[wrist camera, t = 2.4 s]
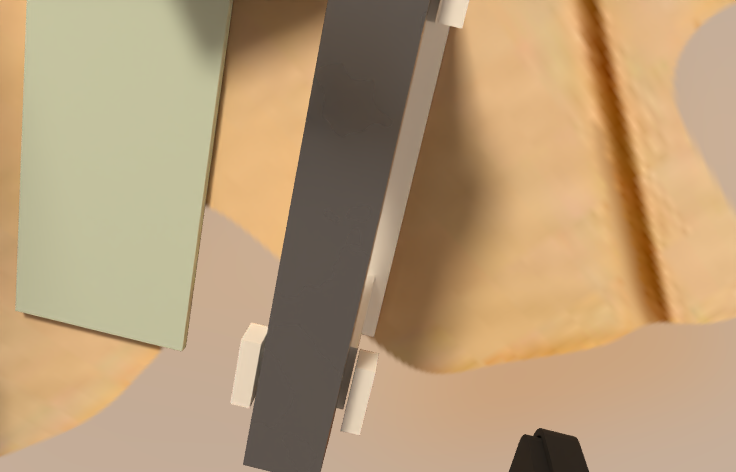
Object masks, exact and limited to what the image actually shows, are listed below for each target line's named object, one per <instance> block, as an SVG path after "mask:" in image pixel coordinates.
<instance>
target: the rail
mask: <svg viewBox="0 0 736 472" xmlns="http://www.w3.org/2000/svg"><path fill="white" fill-rule="evenodd" d="M430 3H431V0H328V3H327V8H326V13H325V19H324V24H323V30H322V35H321V41H320V46H319V52H318V57H317V63H316V68H315V74H314V79H313V85H312V90H311V96H310V101H309V107H308V112H307V117H306V123H305V128H304V134H303V139H302V145H301V150H300V156H299V161H298V167H297V172H296V178H295V183H294V189H293V194H292V200H291V205H290V210H289V216H288V221H287V227H286V232H285V238H284V243H283V249H282V254H281V260H280V265H279V271H278V276H277V282H276V287H275V293H274V299H273V304H272V309H271V314H270V320H269V325H268V331H267V336H266V342H265V347H264V353H263V358H262V364H261V369H260V375H259V380H258V386H257V391H256V397H255V403H254V408H253V413H252V419H251V424H250V429H249V435H248V440H247V446H246V451H245V457H244V463H243V465H247V466H250V467H254V468H258V469H263V470H266V471H270V472H321V468H322V464H323V460H324V456H325V452H326V448H327V445H328V441H329V437H330V433H331V428H332V424H333V420H334V416H335V411H336V407H337V403H338V398H339V394H340V390H341V386H342V381H343V377H344V373H345V368H346V364H347V360H348V355H349V351H350V347H351V343H352V338H353V334H354V330H355V325H356V321H357V317H358V313H359V308H360V304H361V300H362V295H363V291H364V287H365V282H366V278H367V274H368V270H369V265H370V261H371V257H372V252H373V248H374V244H375V240H376V235H377V231H378V227H379V222H380V218H381V214H382V209H383V205H384V201H385V197H386V192H387V188H388V184H389V179H390V175H391V171H392V166H393V162H394V158H395V154H396V149H397V145H398V141H399V136H400V132H401V128H402V124H403V119H404V115H405V111H406V106H407V102H408V98H409V93H410V89H411V85H412V81H413V76H414V72H415V68H416V63H417V59H418V55H419V51H420V46H421V42H422V38H423V33H424V29H425V25H426V20H427V16H428V12H429V8H430Z"/></svg>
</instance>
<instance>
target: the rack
mask: <svg viewBox="0 0 736 472" xmlns="http://www.w3.org/2000/svg"><path fill="white" fill-rule="evenodd" d="M468 3H469V0H431V3H430V8H429V12H428V16H427V20H426V25H425V29H424V33H423V38H422V42H421V46H420V51H419V55H418V59H417V63H416V68H415V72H414V76H413V81H412V85H411V89H410V93H409V98H408V102H407V106H406V111H405V115H404V119H403V124H402V128H401V132H400V136H399V141H398V145H397V149H396V154H395V158H394V162H393V166H392V171H391V175H390V179H389V184H388V188H387V192H386V197H385V201H384V205H383V209H382V214H381V218H380V222H379V227H378V231H377V235H376V240H375V244H374V248H373V252H372V257H371V261H370V265H369V270H368V274H367V278H366V282H365V287H364V291H363V295H362V300H361V304H360V308H359V313H358V317H357V321H356V325H355V330H354V334H353V338H352V343H351V347H350V351H349V355H348V360H347V364H346V368H345V373H344V377H343V381H342V386H341V390H340V394H339V398H338V403H337V407H336V408H340V409H343V408H344V404H345V400H346V395H347V392H348V387H349V383H350V379H351V375H352V371H353V367H354V363H355V358H356V354H357V350H358V346H359V341H360V337H361V334H363V335H367V336H371V337H374V335H375V331H376V326H377V322H378V318H379V314H380V310H381V306H382V302H383V298H384V294H385V290H386V286H387V282H388V277H389V273H390V269H391V265H392V261H393V257H394V253H395V249H396V245H397V241H398V237H399V233H400V229H401V224H402V220H403V216H404V212H405V208H406V204H407V200H408V196H409V192H410V188H411V184H412V180H413V175H414V171H415V167H416V163H417V159H418V155H419V151H420V147H421V143H422V139H423V135H424V131H425V126H426V122H427V118H428V114H429V110H430V106H431V102H432V98H433V94H434V90H435V86H436V82H437V78H438V73H439V69H440V65H441V61H442V57H443V53H444V49H445V45H446V41H447V37H448V33H449V29H450V26H453V27H457V28H462V27H463V23H464V19H465V15H466V11H467V7H468ZM267 331H268V327H267V326H263V325H259V324H255V323H251V324H250V326H249V328H248V329H247V331H246V332H245V334H244V336H243V337H242V339H241V344H240V349H239V355H238V362H237V367H236V373H235V379H234V385H233V391H232V397H231V403H230V404H233V405H237V406H241V407H245V408H250V406H251V404H252V402H253V400H254V398H255V396H256V391H257V386H258V380H259V375H260V369H261V364H262V358H263V353H264V347H265V342H266V336H267ZM378 356H379V354H378V353H374V352H370V351H366V350H362V349H360V351H359V356H358V360H357V364H356V368H355V372H354V377H353V381H352V385H351V389H350V393H349V398H348V402H347V406H346V410H345V414H344V418H343V423H342V427H341V431H343V432H347V433H351V434H355V435H359V436H360V433H361V429H362V425H363V421H364V417H365V413H366V409H367V405H368V401H369V397H370V393H371V389H372V385H373V381H374V377H375V373H376V368H377V362H378Z"/></svg>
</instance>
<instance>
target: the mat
mask: <svg viewBox="0 0 736 472" xmlns="http://www.w3.org/2000/svg"><path fill="white" fill-rule="evenodd" d="M232 6H233V0H27V9H26V36H25V64H24V91H23V118H22V145H21V173H20V200H19V227H18V254H17V282H16V309H15V311H19V312H23V313H27V314H31V315H35V316H39V317H43V318H47V319H51V320H56V321H60V322H64V323H68V324H72V325H76V326H80V327H84V328H88V329H92V330H96V331H100V332H105V333H109V334H113V335H117V336H121V337H125V338H129V339H133V340H137V341H141V342H145V343H150V344H154V345H158V346H162V347H166V348H170V349H174V350H179V351H183V350H184V348H185V347H186V342H187V335H188V327H189V319H190V312H191V305H192V298H193V290H194V283H195V276H196V269H197V261H198V254H199V247H200V239H201V232H202V225H203V217H204V210H205V203H206V196H207V188H208V181H209V174H210V166H211V159H212V152H213V145H214V137H215V130H216V123H217V115H218V108H219V101H220V93H221V86H222V79H223V71H224V64H225V57H226V49H227V42H228V35H229V28H230V20H231V13H232Z"/></svg>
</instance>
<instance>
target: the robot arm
mask: <svg viewBox="0 0 736 472" xmlns="http://www.w3.org/2000/svg"><path fill="white" fill-rule="evenodd" d="M509 472H589V470H588V467H587V464H586V461H585V459H584V455H583V453H582V449H581V446H580V443H579V441H578V439H577V438H576V437H574V436H570V435H566V434H562V433H558V432H554V431H550V430H546V429H542V428H539V429H537V430H536V432H535V433H534V436H530V435H526V434H525V435H523V436H522V437H521V439H520V442H519V444H518V447H517V450H516V453H515V456H514V459H513V461H512V464H511V467H510V470H509Z"/></svg>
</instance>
